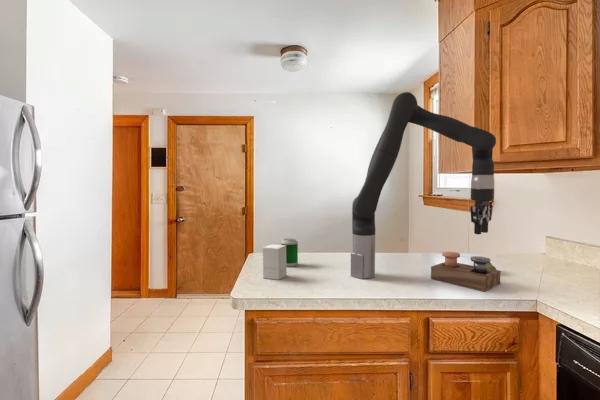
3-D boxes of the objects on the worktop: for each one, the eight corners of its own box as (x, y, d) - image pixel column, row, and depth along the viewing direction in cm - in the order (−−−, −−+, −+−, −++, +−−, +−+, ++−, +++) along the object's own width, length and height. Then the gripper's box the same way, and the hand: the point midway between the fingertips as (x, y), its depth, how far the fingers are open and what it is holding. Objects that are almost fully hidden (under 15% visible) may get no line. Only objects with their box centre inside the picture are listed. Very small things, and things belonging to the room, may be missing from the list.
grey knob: (485, 276, 117) (486, 261, 116) (467, 272, 122) (467, 258, 121) (492, 273, 121) (493, 258, 120) (474, 269, 126) (475, 255, 125)
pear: (485, 257, 142) (501, 266, 133) (483, 268, 144) (499, 278, 134) (473, 257, 142) (489, 266, 132) (472, 268, 143) (487, 278, 133)
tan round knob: (455, 270, 125) (455, 255, 125) (439, 266, 130) (439, 253, 130) (462, 267, 129) (462, 253, 129) (446, 264, 134) (447, 251, 134)
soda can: (297, 267, 147) (297, 241, 147) (281, 267, 147) (280, 241, 147) (297, 263, 155) (297, 238, 154) (282, 263, 155) (282, 238, 154)
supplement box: (287, 275, 134) (287, 245, 133) (278, 280, 127) (278, 248, 127) (271, 273, 137) (271, 243, 137) (262, 278, 131) (262, 247, 130)
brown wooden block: (484, 291, 113) (485, 277, 113) (430, 278, 129) (431, 266, 129) (500, 283, 122) (500, 270, 122) (447, 272, 138) (448, 261, 138)
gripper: (479, 187, 127) (478, 230, 128) (463, 187, 118) (461, 234, 119) (501, 187, 121) (499, 232, 122) (485, 187, 112) (483, 236, 113)
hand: (481, 233), depth 120 cm, fingers open, 5 cm apart
